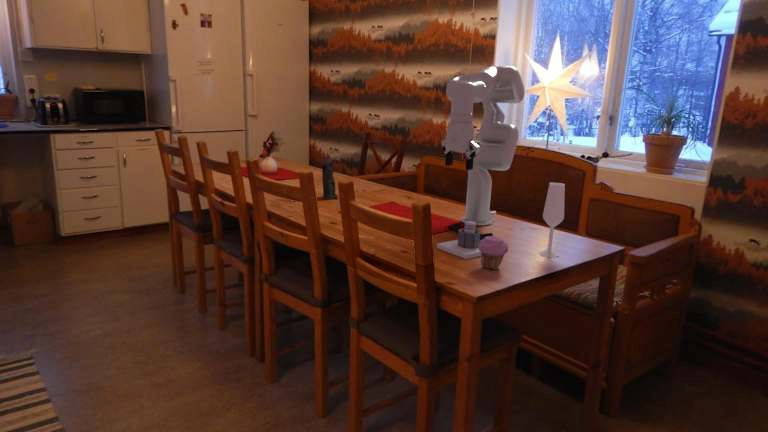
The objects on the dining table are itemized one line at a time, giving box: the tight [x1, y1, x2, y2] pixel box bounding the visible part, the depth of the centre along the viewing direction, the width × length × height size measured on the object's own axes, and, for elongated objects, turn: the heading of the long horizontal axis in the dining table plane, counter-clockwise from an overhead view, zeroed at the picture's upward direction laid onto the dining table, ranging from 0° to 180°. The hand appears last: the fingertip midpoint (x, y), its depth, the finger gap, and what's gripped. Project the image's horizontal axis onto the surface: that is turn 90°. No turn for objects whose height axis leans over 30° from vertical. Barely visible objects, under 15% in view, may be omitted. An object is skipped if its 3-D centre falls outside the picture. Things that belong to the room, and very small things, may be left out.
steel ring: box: [457, 227, 482, 249], centre depth 180 cm, size 7×7×5 cm
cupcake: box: [478, 235, 509, 271], centre depth 163 cm, size 9×9×10 cm
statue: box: [321, 155, 339, 200], centre depth 250 cm, size 7×7×20 cm
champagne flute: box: [538, 182, 566, 258], centre depth 177 cm, size 7×7×24 cm
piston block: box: [436, 221, 482, 260], centre depth 180 cm, size 16×14×10 cm
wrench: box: [447, 222, 494, 241], centre depth 196 cm, size 5×5×30 cm
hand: (458, 167), depth 190 cm, fingers open, 9 cm apart
